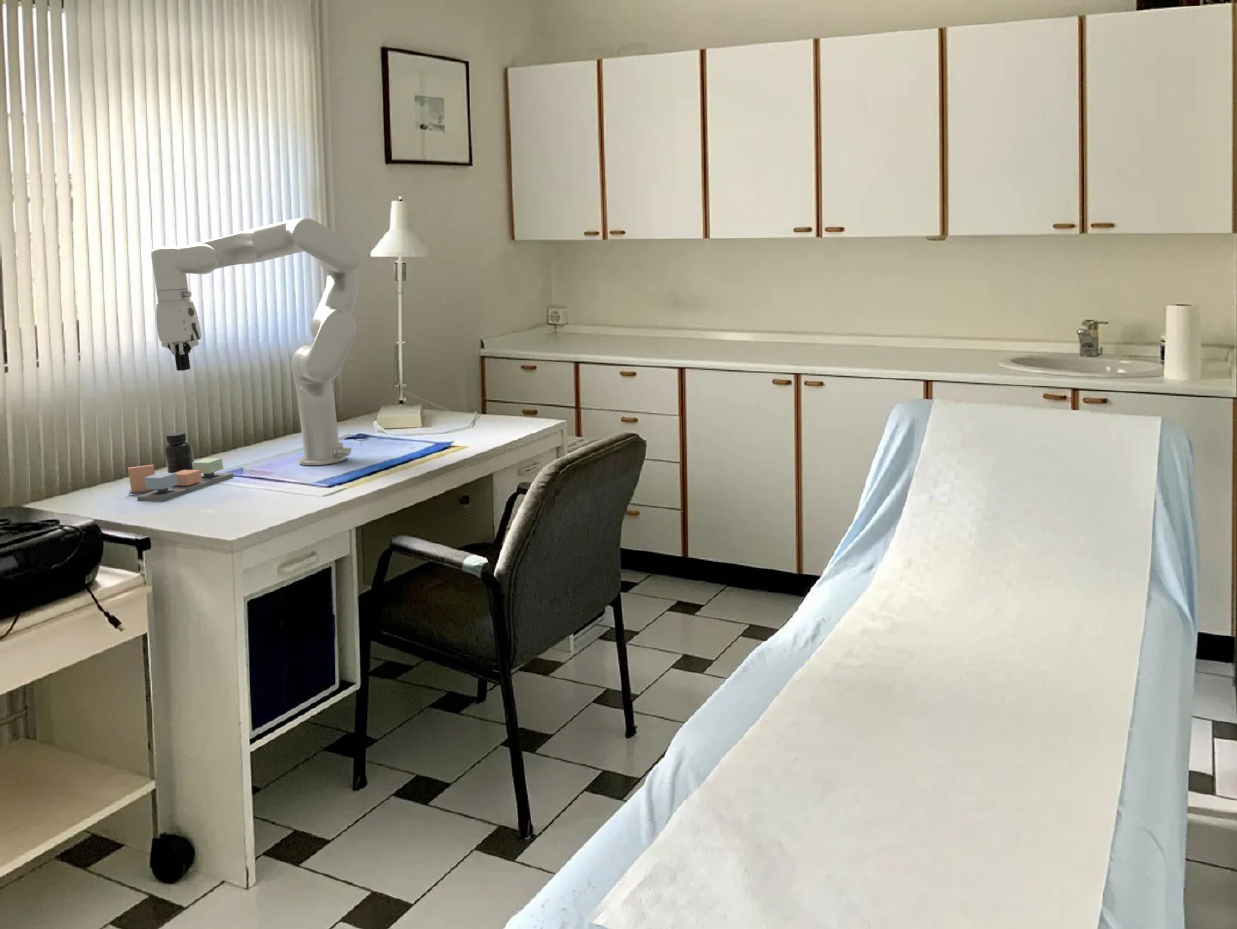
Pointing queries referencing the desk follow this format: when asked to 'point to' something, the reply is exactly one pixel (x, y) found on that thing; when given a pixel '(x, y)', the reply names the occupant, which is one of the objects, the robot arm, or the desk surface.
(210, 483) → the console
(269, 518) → the desk surface
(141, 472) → the upright salmon panel
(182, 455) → the supplement bottle
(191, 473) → the button terracotta
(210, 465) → the button sage
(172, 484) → the button slate
